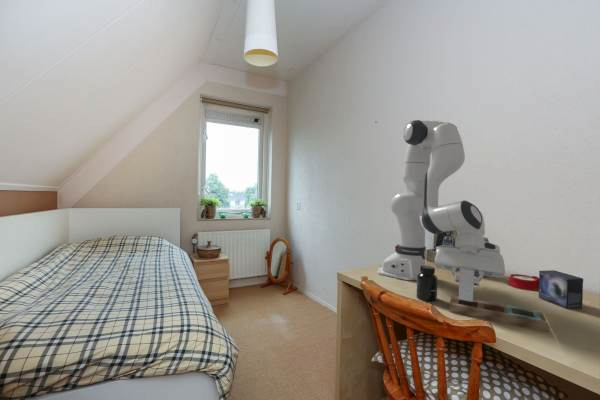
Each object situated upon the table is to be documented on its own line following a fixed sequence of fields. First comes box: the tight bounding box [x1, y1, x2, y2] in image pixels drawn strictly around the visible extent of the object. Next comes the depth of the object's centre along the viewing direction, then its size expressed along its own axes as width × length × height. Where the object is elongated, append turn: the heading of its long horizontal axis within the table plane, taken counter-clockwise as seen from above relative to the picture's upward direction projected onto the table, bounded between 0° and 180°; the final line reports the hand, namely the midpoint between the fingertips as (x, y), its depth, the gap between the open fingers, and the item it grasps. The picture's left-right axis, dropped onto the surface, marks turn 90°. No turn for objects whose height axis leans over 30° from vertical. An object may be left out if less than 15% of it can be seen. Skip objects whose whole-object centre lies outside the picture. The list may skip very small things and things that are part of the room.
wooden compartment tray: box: [448, 295, 549, 333], centre depth 87 cm, size 24×9×3 cm, turn 57°
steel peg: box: [458, 267, 475, 302], centre depth 91 cm, size 4×4×10 cm
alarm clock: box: [503, 273, 539, 291], centre depth 117 cm, size 10×6×15 cm
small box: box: [538, 269, 584, 310], centre depth 100 cm, size 11×6×10 cm, turn 5°
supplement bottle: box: [416, 265, 438, 303], centre depth 101 cm, size 7×7×12 cm
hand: (466, 282), depth 91 cm, fingers closed on steel peg, 4 cm apart
